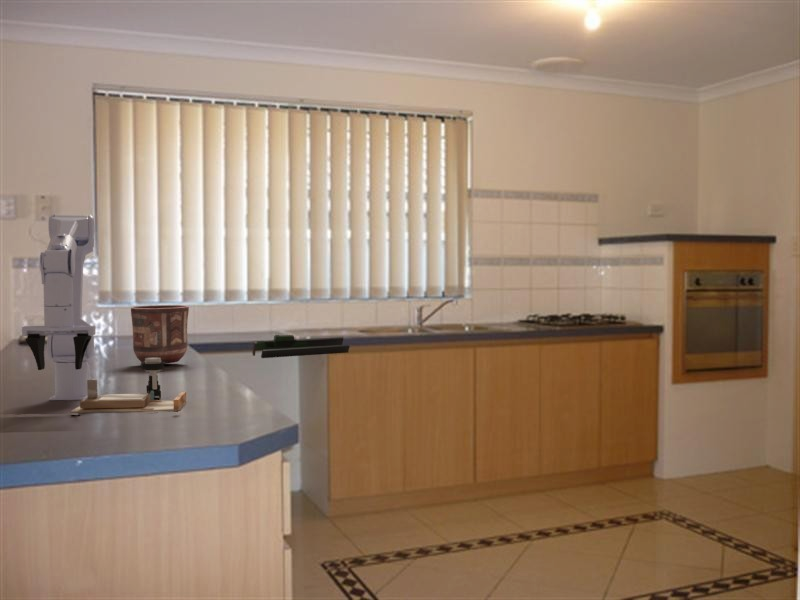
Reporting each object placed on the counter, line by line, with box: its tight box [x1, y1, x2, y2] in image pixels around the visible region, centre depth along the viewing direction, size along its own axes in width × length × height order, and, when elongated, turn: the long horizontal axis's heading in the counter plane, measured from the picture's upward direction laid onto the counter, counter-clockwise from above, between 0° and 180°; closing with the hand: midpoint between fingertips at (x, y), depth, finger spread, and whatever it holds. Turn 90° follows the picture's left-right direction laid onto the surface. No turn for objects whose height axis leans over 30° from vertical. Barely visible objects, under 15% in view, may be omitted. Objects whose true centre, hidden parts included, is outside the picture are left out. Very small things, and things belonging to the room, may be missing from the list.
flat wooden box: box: [70, 391, 187, 414], centre depth 172 cm, size 11×22×3 cm, turn 97°
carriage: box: [79, 378, 151, 409], centre depth 171 cm, size 8×13×6 cm, turn 97°
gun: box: [251, 334, 351, 359], centre depth 274 cm, size 6×35×8 cm, turn 122°
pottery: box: [130, 304, 190, 365], centre depth 256 cm, size 18×18×18 cm
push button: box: [140, 357, 165, 400], centre depth 183 cm, size 7×5×10 cm
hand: (59, 369), depth 169 cm, fingers open, 7 cm apart
